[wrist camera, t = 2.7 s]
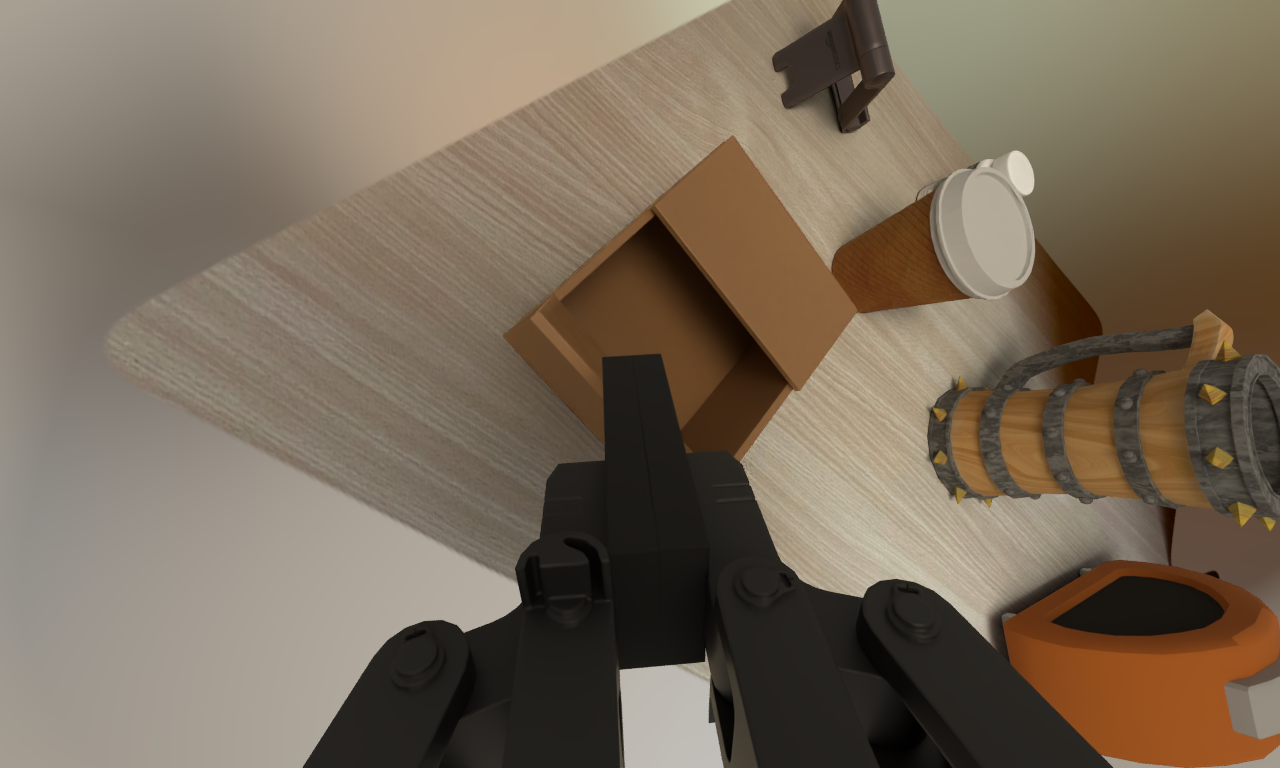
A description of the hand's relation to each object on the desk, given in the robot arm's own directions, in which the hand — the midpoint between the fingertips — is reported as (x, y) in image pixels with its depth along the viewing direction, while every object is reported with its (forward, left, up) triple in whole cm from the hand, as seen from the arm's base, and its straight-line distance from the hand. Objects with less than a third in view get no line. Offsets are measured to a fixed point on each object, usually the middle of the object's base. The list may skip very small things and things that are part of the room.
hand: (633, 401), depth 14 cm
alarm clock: (+54, +26, -19) cm, 63 cm away
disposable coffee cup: (+13, +32, -19) cm, 40 cm away
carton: (+3, +12, -19) cm, 23 cm away
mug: (+32, +33, -19) cm, 50 cm away
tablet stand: (-2, +41, -19) cm, 46 cm away
